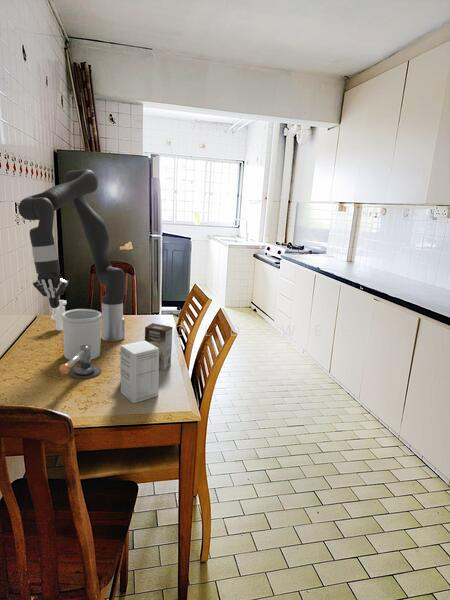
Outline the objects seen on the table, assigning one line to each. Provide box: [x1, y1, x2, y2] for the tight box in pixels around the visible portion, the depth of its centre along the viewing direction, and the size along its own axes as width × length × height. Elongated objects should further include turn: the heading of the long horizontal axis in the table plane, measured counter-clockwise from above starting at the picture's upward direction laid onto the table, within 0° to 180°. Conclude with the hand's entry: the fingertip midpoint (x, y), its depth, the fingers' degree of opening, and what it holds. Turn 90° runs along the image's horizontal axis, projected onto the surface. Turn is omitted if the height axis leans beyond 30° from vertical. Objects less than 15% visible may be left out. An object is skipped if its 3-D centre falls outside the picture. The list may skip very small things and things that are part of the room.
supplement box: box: [119, 340, 160, 404], centre depth 127 cm, size 10×9×17 cm
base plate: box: [69, 365, 102, 380], centre depth 142 cm, size 11×11×1 cm
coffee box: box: [144, 322, 173, 371], centre depth 151 cm, size 9×6×16 cm
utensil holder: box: [62, 308, 102, 362], centre depth 156 cm, size 15×15×18 cm
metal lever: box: [59, 345, 96, 376], centre depth 133 cm, size 20×7×9 cm, turn 177°
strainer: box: [50, 299, 67, 332], centre depth 186 cm, size 7×7×15 cm
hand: (55, 307), depth 136 cm, fingers closed
